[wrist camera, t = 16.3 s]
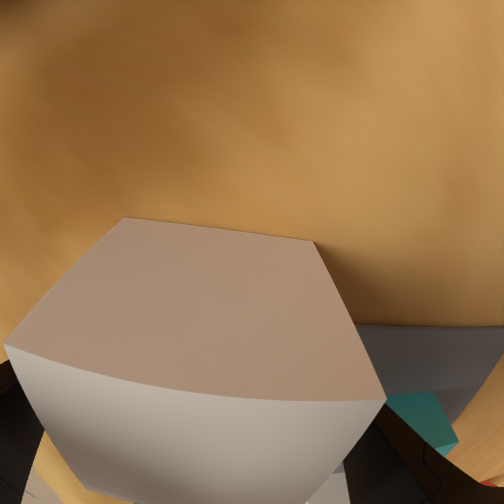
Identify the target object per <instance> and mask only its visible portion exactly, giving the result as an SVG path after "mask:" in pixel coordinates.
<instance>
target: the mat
mask: <svg viewBox="0 0 504 504" xmlns="http://www.w3.org/2000/svg"><path fill="white" fill-rule="evenodd" d="M354 326H355V328H356V330H357V332H358V334H359V336H360V339H361V341H362V343H363V345H364V347H365V350H366V352H367V354H368V356H369V358H370V361H371V363H372V365H373V367H374V370H375V372H376V374H377V377H378V379H379V381H380V383H381V386H382V388H383V390H384V393H385V395H386V396H390V395H402V394H412V393H421V392H430V391H433V392H434V394H435V396H436V398H437V400H438V402H439V403H440V405H441V407H442V409H443V411H444V413H445V415H446V417H447V419H448V421H449V423H450V425H451V424H452V423H453V422H454V421H455V420H456V418H457V417H458V416H459V415H460V414H461V412H462V411H463V410H464V409H465V407H466V406H467V405H468V403H469V402H470V401H471V399H472V398H473V397H474V395H475V394H476V393H477V391H478V390H479V389H480V387H481V386H482V384H483V383H484V382H485V380H486V379H487V377H488V376H489V374H490V373H491V371H492V370H493V368H494V367H495V365H496V364H497V362H498V360H499V359H500V357H501V356H502V354H503V352H504V326H493V327H418V326H387V325H365V324H354ZM335 473H345V471H344V466H343V461H342V462H341V463H340V464H339V466H338V467H337V468H336V469H335V471H334V472H333V473H332V474H335Z"/></svg>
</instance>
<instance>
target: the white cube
mask: <svg viewBox="0 0 504 504" xmlns="http://www.w3.org/2000/svg"><path fill="white" fill-rule="evenodd" d="M305 504H350V499H349V494H348V488H347V482H346V477H345V473H335V474H331V475H330V476H329V478H328V479H327V480H326V481H325V482H324V483H323V484H322V486H321V487H320V488H319V489H318V490H317V491H316V492H315V493H314V494H313V495H312V497H311V498H310V499H309V500H308V501H307V502H306V503H305Z"/></svg>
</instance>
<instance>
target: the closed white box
mask: <svg viewBox="0 0 504 504" xmlns="http://www.w3.org/2000/svg"><path fill="white" fill-rule="evenodd" d="M3 345H4V348H5V350H6V353H7V355H8V357H9V360H10V362H11V364H12V367H13V369H14V371H15V374H16V376H17V378H18V380H19V382H20V384H21V386H22V388H23V390H24V392H25V394H26V396H27V398H28V400H29V402H30V404H31V406H32V408H33V410H34V412H35V413H36V415H37V417H38V419H39V420H40V422H41V424H42V426H43V427H44V429H45V431H46V432H47V434H48V436H49V437H50V439H51V440H52V442H53V444H54V445H55V447H56V448H57V450H58V451H59V453H60V454H61V456H62V457H63V459H64V460H65V462H66V463H67V464H68V466H69V467H70V469H71V470H72V471H73V473H74V474H75V475H76V477H77V478H78V479H79V481H80V482H81V483H82V485H83V486H84V487H85V488H86V489H87V490H90V491H93V492H96V493H99V494H103V495H106V496H109V497H113V498H117V499H120V500H124V501H128V502H132V503H136V504H305V503H306V502H307V501H308V500H309V499H310V498H311V497H312V495H313V494H314V493H315V492H316V491H317V490H318V489H319V488H320V487H321V486H322V484H323V483H324V482H325V481H326V480H327V479H328V478H329V476H330V475H331V474H332V473H333V472H334V471H335V469H336V468H337V467H338V466H339V464H340V463H341V462H342V461H343V460H344V458H345V457H346V456H347V455H348V453H349V452H350V451H351V449H352V448H353V447H354V445H355V444H356V443H357V441H358V440H359V439H360V437H361V436H362V435H363V433H364V432H365V431H366V429H367V428H368V426H369V425H370V424H371V422H372V421H373V419H374V418H375V416H376V415H377V413H378V412H379V410H380V409H381V407H382V406H383V404H384V403H385V401H386V400H387V398H386V395H385V393H384V390H383V388H382V386H381V383H380V381H379V379H378V377H377V374H376V372H375V370H374V367H373V365H372V363H371V361H370V358H369V356H368V354H367V352H366V350H365V347H364V345H363V343H362V341H361V339H360V336H359V334H358V332H357V330H356V328H355V326H354V324H353V321H352V319H351V317H350V315H349V313H348V311H347V309H346V307H345V305H344V303H343V301H342V299H341V296H340V294H339V292H338V290H337V288H336V286H335V284H334V282H333V280H332V278H331V276H330V274H329V272H328V270H327V268H326V266H325V264H324V262H323V260H322V259H321V257H320V255H319V253H318V251H317V249H316V247H315V245H314V243H313V241H306V240H299V239H292V238H285V237H278V236H270V235H263V234H256V233H248V232H241V231H233V230H225V229H218V228H210V227H202V226H194V225H186V224H178V223H170V222H161V221H153V220H145V219H136V218H127V217H124V218H123V219H122V220H120V221H119V222H118V223H117V224H116V225H115V226H114V227H113V228H112V229H110V230H109V231H108V232H107V233H106V234H105V235H104V236H103V237H102V238H101V239H100V240H99V241H98V242H96V243H95V244H94V245H93V246H92V247H91V248H90V249H89V250H88V251H87V252H86V253H85V254H84V255H83V256H82V257H81V258H80V259H79V260H78V261H77V262H76V263H75V264H74V265H73V266H72V267H71V268H70V269H69V270H68V271H67V272H66V273H65V274H64V275H63V276H62V277H61V278H60V279H59V280H58V281H57V282H56V283H55V284H54V285H53V286H52V287H51V288H50V290H49V291H48V292H47V293H46V294H45V295H44V296H43V297H42V298H41V299H40V300H39V301H38V303H37V304H36V305H35V306H34V307H33V308H32V309H31V310H30V312H29V313H28V314H27V315H26V316H25V317H24V318H23V320H22V321H21V322H20V323H19V324H18V325H17V327H16V328H15V329H14V330H13V331H12V333H11V334H10V335H9V336H8V337H7V339H6V340H5V341H4V342H3Z"/></svg>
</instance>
